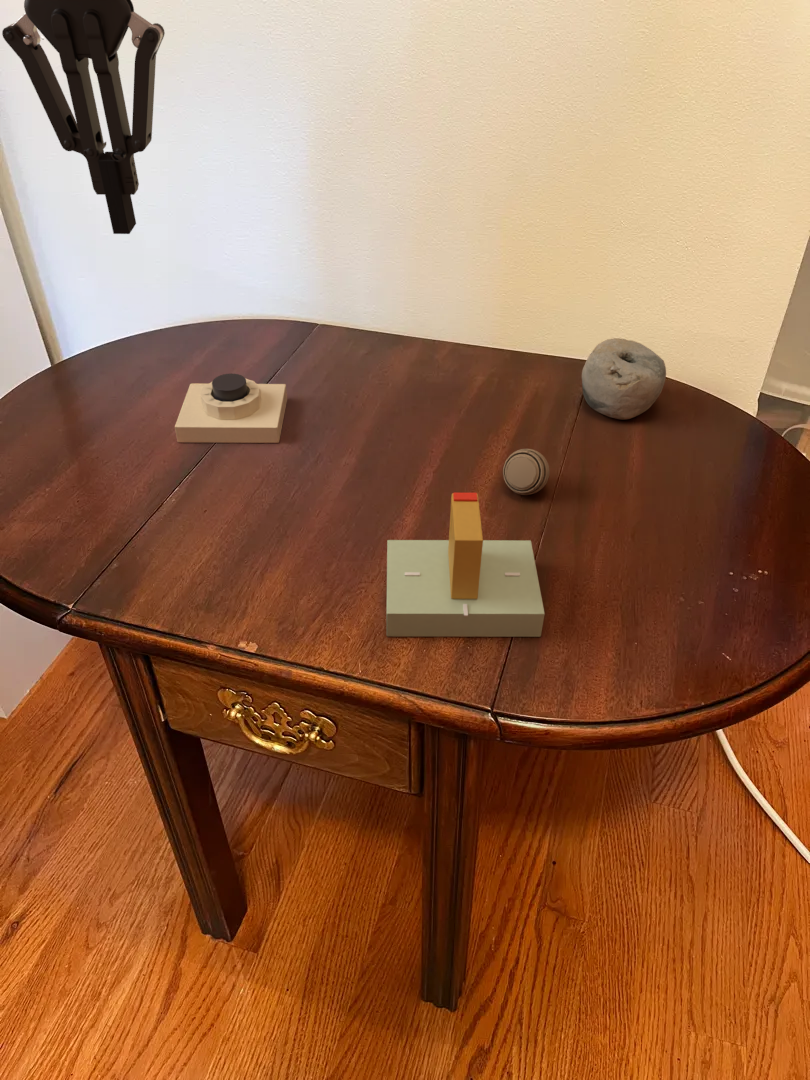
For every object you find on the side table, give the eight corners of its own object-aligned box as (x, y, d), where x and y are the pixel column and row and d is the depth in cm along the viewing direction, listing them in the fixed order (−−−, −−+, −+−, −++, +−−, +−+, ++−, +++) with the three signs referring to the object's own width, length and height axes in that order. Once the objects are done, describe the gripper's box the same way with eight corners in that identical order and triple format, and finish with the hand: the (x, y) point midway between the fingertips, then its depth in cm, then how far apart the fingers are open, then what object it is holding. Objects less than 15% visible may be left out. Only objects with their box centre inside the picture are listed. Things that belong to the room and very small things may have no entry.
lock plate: (386, 639, 75) (386, 615, 73) (387, 560, 84) (387, 536, 82) (541, 639, 76) (545, 615, 74) (527, 560, 84) (530, 536, 82)
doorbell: (177, 442, 99) (171, 413, 96) (192, 398, 106) (188, 370, 104) (279, 443, 99) (276, 414, 96) (287, 398, 107) (284, 370, 104)
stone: (551, 374, 104) (604, 309, 103) (586, 409, 112) (637, 350, 110) (604, 412, 98) (662, 343, 96) (638, 447, 105) (692, 384, 104)
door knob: (496, 479, 94) (499, 442, 91) (538, 474, 95) (543, 437, 92) (508, 506, 90) (513, 468, 87) (552, 501, 91) (558, 463, 88)
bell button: (211, 403, 99) (209, 390, 98) (216, 385, 102) (214, 373, 101) (245, 403, 99) (243, 390, 98) (249, 386, 102) (248, 373, 101)
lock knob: (477, 599, 75) (483, 538, 70) (450, 599, 75) (454, 537, 70) (473, 551, 80) (478, 491, 75) (448, 551, 80) (451, 491, 75)
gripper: (157, -83, 67) (200, 215, 82) (-7, -85, 67) (67, 213, 82) (135, -74, 61) (186, 244, 77) (-44, -77, 61) (43, 243, 77)
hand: (124, 228), depth 79 cm, fingers closed
